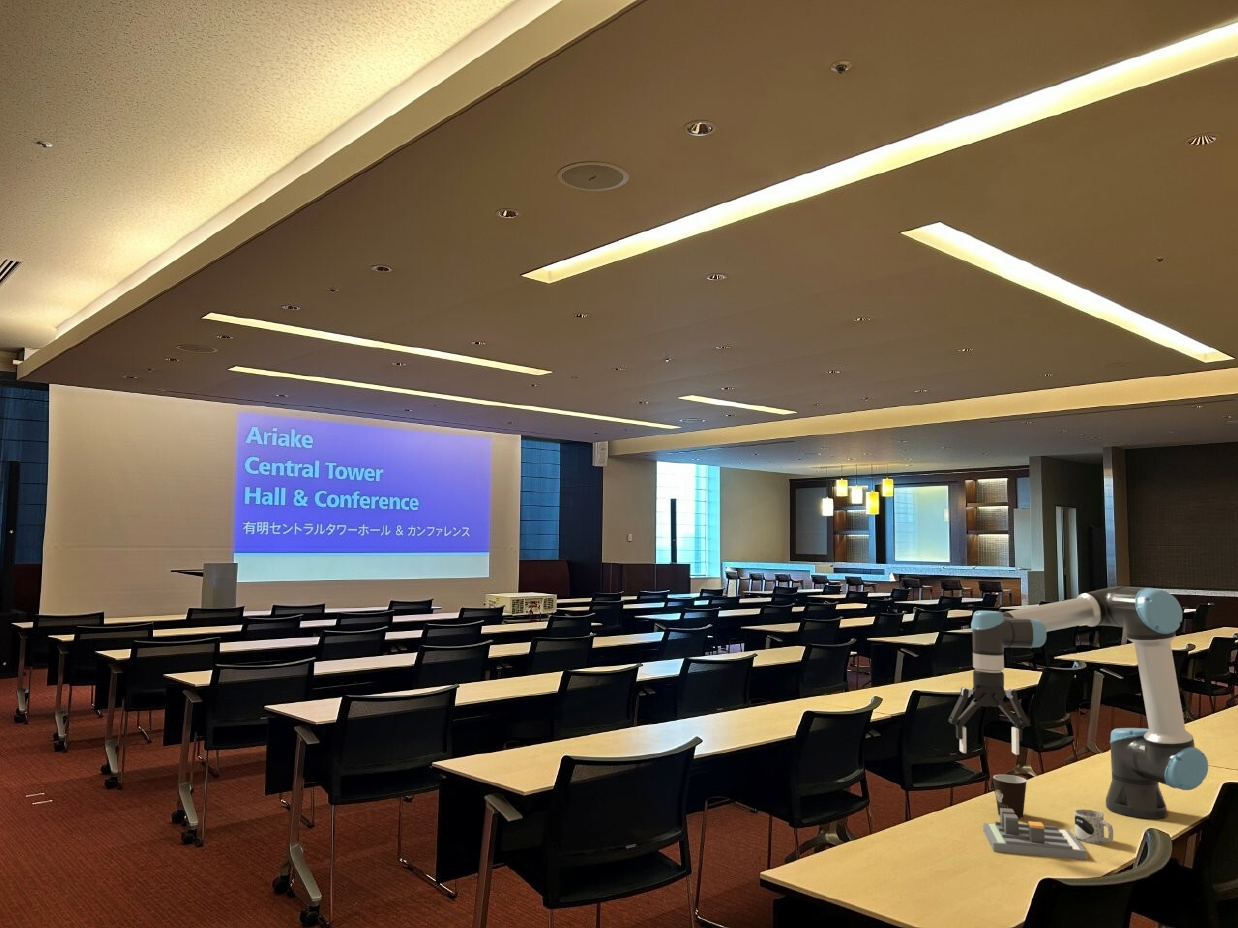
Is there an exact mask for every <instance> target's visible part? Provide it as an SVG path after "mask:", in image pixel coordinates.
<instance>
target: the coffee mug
mask: <svg viewBox="0 0 1238 928" xmlns="http://www.w3.org/2000/svg"><path fill="white" fill-rule="evenodd" d="M990 785H991V788H992V790H993V792H994V794H995V798H996V806H997V813H998V816H1000V808H1008V809H1013V811H1014V812H1015V815H1017V817H1018V820H1019V819H1023V818H1024V811H1025V802H1026V790H1027V779H1026V778H1025V777H1022V776H1019V775H1012V774H995V775H993V777H992V778H991V779H990Z"/></svg>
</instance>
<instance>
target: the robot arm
mask: <svg viewBox="0 0 1238 928" xmlns="http://www.w3.org/2000/svg"><path fill="white" fill-rule="evenodd" d="M1182 621H1183V609H1182V607H1181V605H1180V602H1179V601H1178V600H1177V598H1176V597H1175V596H1174V595H1173V594H1171V593H1170V592H1169V591H1166V590H1163V589H1157V588H1153V587H1140V586H1138V587H1137V586H1125V585H1123V586H1122V585H1121V586H1120V585H1118V586H1112V587H1106V588H1101V589H1096V590H1094V591H1093V590H1092V591H1089V592H1084V593H1080V594H1079V595H1078V596H1077V597H1076V598H1071V599H1065V600H1061V601H1055V602H1050V603H1046V604H1045V603H1044V604H1039V605H1034V606H1028V607H1024V608H1019V609H1013V610H1009V611H1004V612H1002V611H998V610H997V611H996V610H994V611H993V610H976V611H975V612H973V615H972V620H971V623H970V627H971V628H970V629H971V632H972V667H973V668H974V670H973V671H972V679H973V680H972V684H973V685H972V689H970V688H966V687H963V686H962V687H961V688H960V693H959V697H958V698H957V699H958V700H957V701H956V703H955V705H954V708H953V709H952V711H951V714H950V716H949V717H948V722H949V723H950V724H952V725H955V737H956V739H957V740H959V751H960V752H961V753H963V754H967V727H966V726H964V725H965V724H966V723H967V722H969V720H970V718H971V717H972V716H973V715H974V714H975V713H976V711H978V709H980V708H981V707H985V708H986V707H987V708H988V707H993V708H997V707H998V708H999V709H1000V710H1001V712H1003V714H1004V715H1005V716H1006V717H1007V718H1008V719H1009V721H1010V722H1011V723H1012V725H1014V726H1011V753H1013V754H1014V755H1015V756H1017V755H1018V756H1019V755H1020V742H1022V740H1023V730H1024V729H1025V728H1026V727H1030V722H1029V719H1028V717H1027V715H1026V713H1025V711H1024V709H1023V708H1022V705H1021V703H1020V701H1019V699H1018V693H1017V690H1014V689H1012V688H1009V689H1007V690H1005V673H1004V672H1003V671H1004V669H1005V660H1004V655H1005V654H1004V652H1005V648H1029V649H1032V648H1041V647H1042V646H1043V645H1044V644H1045V643H1046V641H1047V633H1048V632H1051V631H1057V630H1061V629H1062V630H1063V629H1068V628H1071V627H1077V626H1082V625H1086V626H1087V627H1096V626H1097V627H1099V626H1109V627H1111V626H1112V627H1119V628H1124V629H1125V632H1126V633H1125V634H1126V638H1127V640H1128V641H1130V642H1132V644H1133V645H1134V648H1135V654H1136V661H1137V666H1138V672H1139V679H1140V684H1141V691H1142V696H1143V701H1144V708H1145V714H1146V718H1147V719H1146V720H1147V725H1148V726H1147V727H1148V728H1142V727H1141V728H1140V727H1139V728H1138V727H1120V728H1114V729H1113V730H1111V732H1110V741H1109V745H1110V764H1111V782H1110V785H1109V788H1108V792H1107V794H1106V798H1105V807H1106V808H1107V809H1108V811H1109V810H1110V811H1111V812H1114V813H1117V814H1120V815H1124V816H1128V817H1134V818H1142V819H1162V818H1166V817H1167V815H1168V808H1167V804H1166V801H1165V799H1164V797H1163V794H1162V791H1161V789H1160V786H1159V783H1160V784H1163V785H1165V786H1167V787H1170V788H1172V789H1178V790H1182V791H1192V790H1194V789H1197V788H1198V787H1199V786H1201V784H1203V782H1204V780H1205V779H1206V778H1207V775H1208V772H1209V761H1208V760H1209V759H1208V758H1207V756H1206V754H1205V753H1204V752H1203V751H1202V750H1200V749H1199V748H1197V747H1196V746H1195V740H1194V736H1193V734H1192V733H1190V732H1189V731H1187V730H1186V726H1185V720H1184V719H1185V718H1184V715H1183V714H1184V713H1183V708H1182V703H1181V702H1182V701H1181V698H1180V696H1181V695H1180V691H1179V685H1178V679H1177V673H1176V672H1177V671H1176V666H1175V662H1174V661H1175V660H1174V656H1173V650H1172V645H1171V644H1172V641H1173V640H1174V639H1175V638H1176V637H1177V636H1176V635H1177V634H1176V631H1177V630H1178V629H1179V628H1180V626H1181V623H1182ZM971 695H972V696H973V699H972V700H971V702H970V704H969V705H968V706H967V708H966V709H965V710H964V708H965V706H966V704H967V702H968V699H969V698H970V697H971ZM1005 697H1006V698H1008V699H1009V701H1010V702H1011V705H1012V707H1013V709H1014V712H1015V713H1016V715H1017V717H1018V718H1017V717H1016V716H1015V714H1014V713H1013V712H1012V710H1011V709H1010V708H1009V707H1008V705H1007V704H1006V703H1005V702H1004V700H1003V699H1005ZM963 710H964V711H963Z"/></svg>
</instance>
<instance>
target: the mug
mask: <svg viewBox="0 0 1238 928" xmlns="http://www.w3.org/2000/svg"><path fill="white" fill-rule="evenodd" d="M1105 827H1106V828H1107V830H1108V831H1107V832H1108V836H1107V837H1106V836H1105ZM1074 836H1075V838H1076V839H1077V840H1078V841H1079V842H1081V843H1085V844H1092V845H1101V844H1104V843H1107V844H1111V843H1113V841H1114V829H1113V825H1112V824H1110V823H1109V822H1107V821H1106V820H1104V814H1103V813H1102V812H1100V811H1097V810H1093V809H1084V808H1083V809H1082V808H1081V809H1075V810H1074Z"/></svg>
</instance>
